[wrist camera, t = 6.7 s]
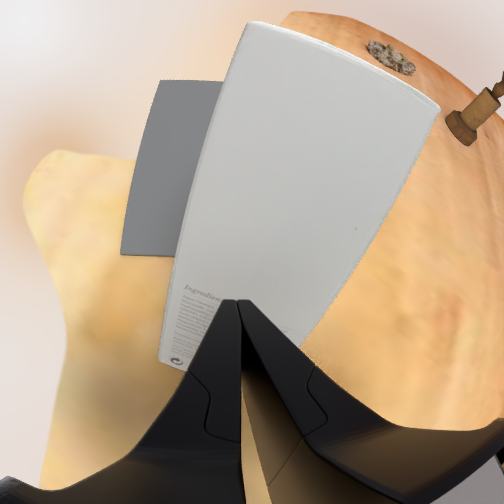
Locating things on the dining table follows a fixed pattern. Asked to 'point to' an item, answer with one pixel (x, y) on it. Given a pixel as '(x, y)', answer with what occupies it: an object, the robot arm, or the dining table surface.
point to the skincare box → (289, 184)
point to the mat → (167, 166)
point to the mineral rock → (391, 57)
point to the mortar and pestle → (475, 114)
